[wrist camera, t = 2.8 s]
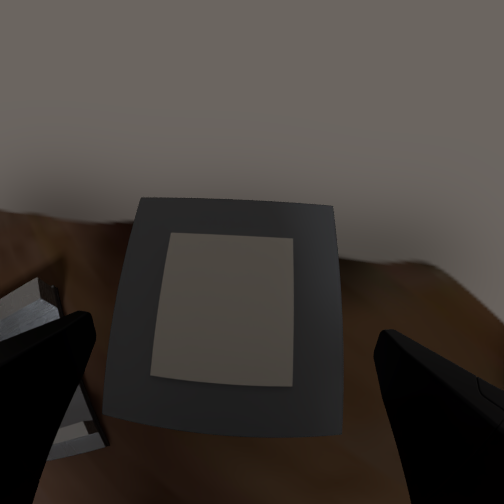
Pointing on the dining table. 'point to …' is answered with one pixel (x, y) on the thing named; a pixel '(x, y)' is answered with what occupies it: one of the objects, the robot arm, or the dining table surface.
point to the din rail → (80, 409)
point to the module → (229, 320)
